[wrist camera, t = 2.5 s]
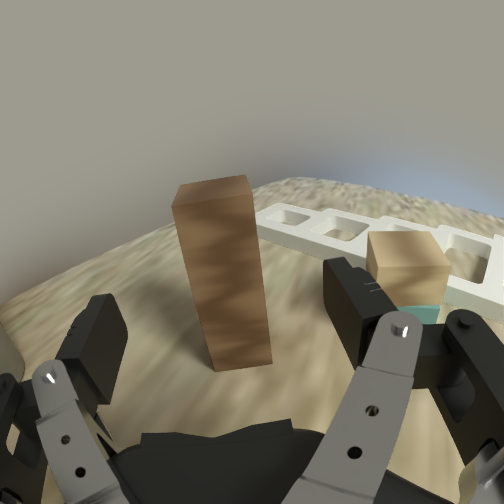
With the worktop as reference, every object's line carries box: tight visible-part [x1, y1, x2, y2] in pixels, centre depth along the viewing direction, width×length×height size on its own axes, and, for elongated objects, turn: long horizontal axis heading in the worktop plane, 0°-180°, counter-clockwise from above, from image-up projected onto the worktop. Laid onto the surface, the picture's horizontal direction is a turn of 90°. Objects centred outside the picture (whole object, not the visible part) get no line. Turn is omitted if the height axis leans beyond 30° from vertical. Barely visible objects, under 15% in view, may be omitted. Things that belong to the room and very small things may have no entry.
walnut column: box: [171, 175, 273, 372], centre depth 24 cm, size 5×5×15 cm
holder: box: [255, 203, 504, 324], centre depth 40 cm, size 45×18×3 cm, turn 44°
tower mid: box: [366, 231, 451, 306], centre depth 26 cm, size 6×6×4 cm
